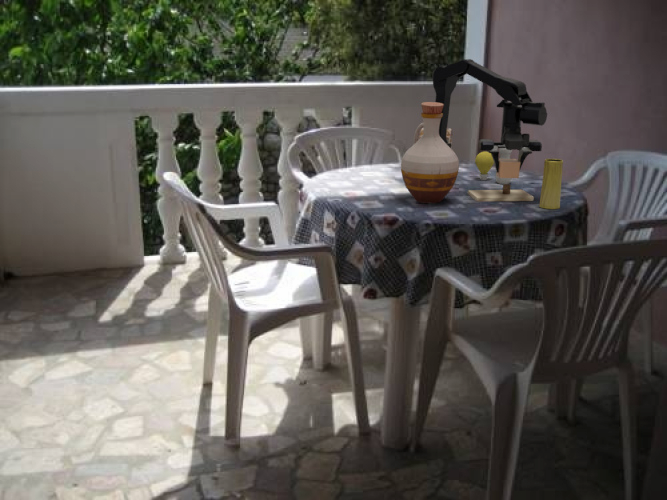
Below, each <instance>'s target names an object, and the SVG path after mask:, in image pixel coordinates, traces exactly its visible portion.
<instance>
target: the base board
mask: <svg viewBox="0 0 667 500" xmlns="http://www.w3.org/2000/svg"><path fill="white" fill-rule="evenodd" d="M511 187H512V185H511V184H510V183H509V184H502V189H482V190H481V189H476V190H475V189H474V190H473V189H469V190H467V195H469V197H471V198H472V199H473V200H474V201H475V202H479V203H480V202H482V203H483V202H530V201H531V202H532V201H534V196H533V195H531V194H529V193H528V192H527V191H525V190H523V189H511Z"/></svg>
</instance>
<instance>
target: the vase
mask: <svg viewBox="0 0 667 500" xmlns="http://www.w3.org/2000/svg"><path fill="white" fill-rule="evenodd" d="M563 165H564V160H563V159H560V158H545V159H544V163H543V174H542V183H541V191H540V196H539V197H540V198H539V204H538V206H539V208H541V209H545V210H559V209H560V208H561V196H562V195H561V194H562V193H561V192H562V182H563V181H562V179H563V167H564V166H563Z"/></svg>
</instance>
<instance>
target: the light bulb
mask: <svg viewBox="0 0 667 500" xmlns="http://www.w3.org/2000/svg"><path fill="white" fill-rule="evenodd" d="M474 160H475V161H474V163H475V165H476V167H477V169H478V171H479V175H478V176H479V179H480V180H481V181H487V180H488V177H489V171H490V170H491V169H492V167H493V166H494V165H495V164H494V160H493V158H492V155H491V153H489V152H488V151H481V152H479V153H478V154H477V155H476V156H475V159H474Z"/></svg>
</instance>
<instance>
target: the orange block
mask: <svg viewBox="0 0 667 500" xmlns="http://www.w3.org/2000/svg"><path fill="white" fill-rule="evenodd" d="M520 163H521V162H519V161H518V158H510V159H500V158H499V171H498V173H497V171H496V170H495V171H496V172H495V175H497V176H498V177H499V178H512V179H519V178H520V171H521V169H520ZM519 170H520V171H519Z"/></svg>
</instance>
